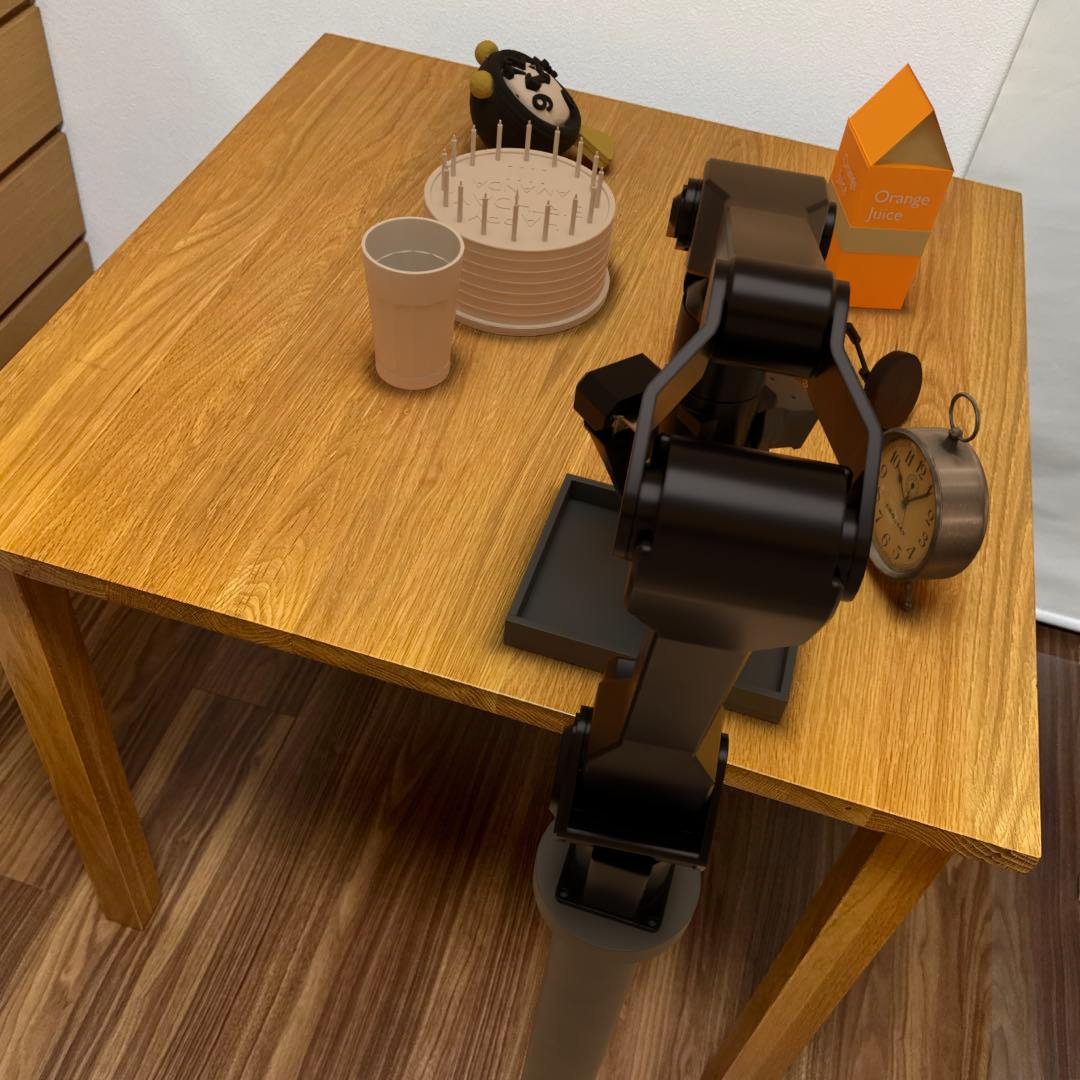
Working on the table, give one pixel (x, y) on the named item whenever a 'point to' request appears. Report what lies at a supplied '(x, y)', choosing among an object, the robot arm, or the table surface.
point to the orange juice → (887, 192)
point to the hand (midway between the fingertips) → (671, 552)
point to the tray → (610, 601)
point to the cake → (525, 235)
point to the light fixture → (890, 383)
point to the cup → (412, 298)
